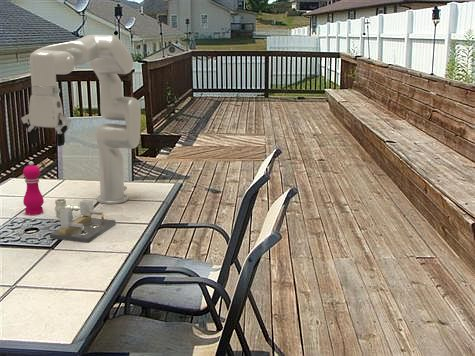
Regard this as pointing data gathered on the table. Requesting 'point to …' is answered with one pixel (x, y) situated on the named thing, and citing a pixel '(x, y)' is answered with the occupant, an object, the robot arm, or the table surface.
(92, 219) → the bolt plate
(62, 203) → the valve
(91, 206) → the block
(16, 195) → the table surface
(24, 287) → the table surface
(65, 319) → the table surface
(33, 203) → the magenta pepper mill
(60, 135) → the robot arm
